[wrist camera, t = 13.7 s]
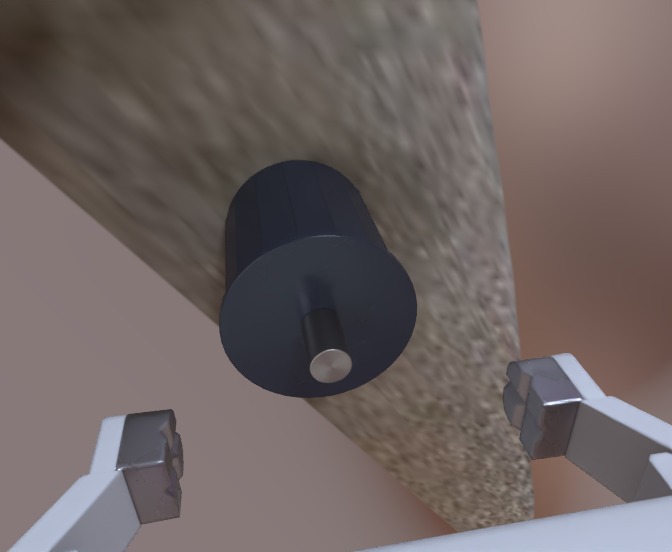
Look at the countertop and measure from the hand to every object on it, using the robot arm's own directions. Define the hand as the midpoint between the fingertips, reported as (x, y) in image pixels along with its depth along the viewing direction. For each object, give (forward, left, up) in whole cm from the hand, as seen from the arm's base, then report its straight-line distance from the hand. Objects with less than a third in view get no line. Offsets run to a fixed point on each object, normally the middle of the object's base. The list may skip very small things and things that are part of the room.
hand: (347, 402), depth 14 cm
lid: (+11, -2, -19) cm, 22 cm away
